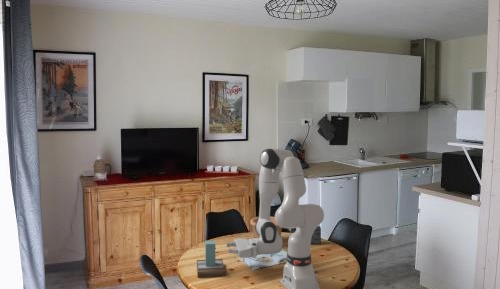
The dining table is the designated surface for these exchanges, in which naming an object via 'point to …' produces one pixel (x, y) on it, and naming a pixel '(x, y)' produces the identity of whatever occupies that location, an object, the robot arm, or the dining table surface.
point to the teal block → (210, 253)
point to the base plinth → (210, 269)
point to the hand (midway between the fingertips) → (227, 248)
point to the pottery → (253, 222)
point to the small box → (316, 236)
